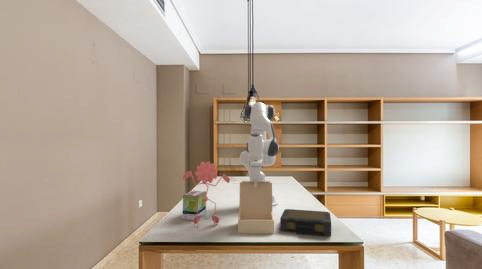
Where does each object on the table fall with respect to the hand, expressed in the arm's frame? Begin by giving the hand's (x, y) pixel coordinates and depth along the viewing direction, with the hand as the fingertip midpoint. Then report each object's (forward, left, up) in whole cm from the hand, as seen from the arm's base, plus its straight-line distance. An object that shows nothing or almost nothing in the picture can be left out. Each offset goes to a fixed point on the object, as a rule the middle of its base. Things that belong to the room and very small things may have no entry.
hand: (255, 186), depth 158 cm
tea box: (+21, -33, -21) cm, 44 cm away
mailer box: (+5, +7, -21) cm, 23 cm away
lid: (0, 0, -5) cm, 5 cm away
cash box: (-17, +22, -21) cm, 35 cm away
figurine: (+22, -16, -21) cm, 35 cm away
